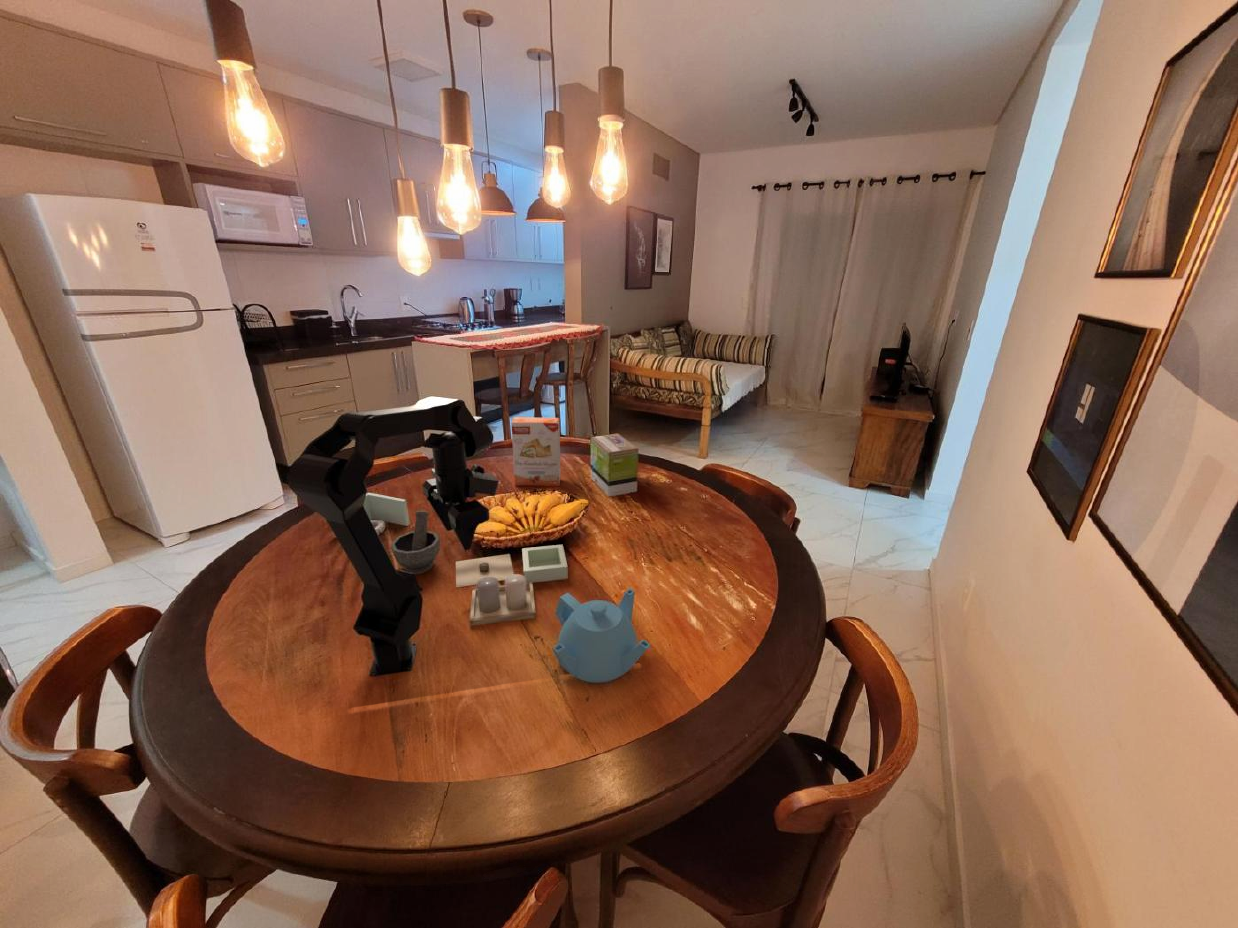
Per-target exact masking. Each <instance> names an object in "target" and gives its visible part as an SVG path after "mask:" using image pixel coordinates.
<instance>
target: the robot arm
mask: <svg viewBox="0 0 1238 928" xmlns="http://www.w3.org/2000/svg"><path fill="white" fill-rule="evenodd" d="M425 431H437V432H438V431H439V432H442V433H435V432H430V433H429V436H428V437H427V438H426V439H425V440H424V442H423V443H422V447H423V448H424V449H425V448H426V449H431V452H432V459H433V460H432V461H433V468H432V469H431V468H430V472H431V476H433V477H434V478H431V479H426V480H425V482H424V483H422V494H423V495H424V496H425V500H427V502H428V504H429V505H430V506H431V508H432V509H433V511H434V513H435V515H436V516H437V517H438V518H439V521H440V522H441V524H442V525H443V527H444V528H445V530H446V531H447V532H450V531H453V532H454V534H455V537H457V539H458V541H459V543H460V545H461V546H462V548H463V550H464V551H469V550H471V548H472V544H473V541H474V538H475V533H476V530H477V528H478V526H479V525H480V524H483V523H485V522H488V521H489V520H490V509H489V508H488V507H486V505H484V504H483V503H482V502H480V501H479V500H477V499H474V500H471V501H469V500H468V498H469V499H472V498H475V497H477V494H483V495H489V496H492V497H493V496H494V497H495V496H496V493H497V489H498V485H499V481H500V479H498V478H497V477H495V476H494V475H492V473H489V472H487V471H486V472H485V468H484V467H483V466H481V465H479V464H473V465H472V466H470V467H471V468H468V463H467V458H470V457H474V456H475V455H477V454H479V453H481V452H482V451H484V450H486V449H489V448H490V447H491V446H492V445H493V442H494V437H495V436H494V434H493V432H492V430H491V428H490V427H489V426H488V425H487V424H486V423H485V422H484V417H481V416H476V415H473V414H472V413H471V412H470V410H469V408H468V407H467V405H466V402H465V400H463V399H456V398H448V397H439V396H432V395H431V396H428V397H426V398H423V399H419V400H418V401H417V402H416V403H415V404H413V405H411V406H410V405H409V406H401V407H393V408H387V409H386V408H385V409H377V410H367V411H360V412H357V411H348V412H345V413H342V414H341V415H340V416H339V417H337V420H336V421H335V422H334V423H333V425H332V426H331V427H330V428H329V429H327V430H325V431H324V432H323V433H321V434H320V435H319V436H318V437H316V438H314V439H313V440H311V441H310V442H309V444H308V445H307V446H305V447H306V448H305V449H304V450H303V451H302V453H301V454H300V455H299V457H297V458H296V459H295V460H294V461H293V462H292V465H291V467H290V468H289V472H288V474H287V475H286V482H287V484H288V487H289V489H290V490H291V491H292V492H293V493H294V495H295V496H296V497H297V498H299V500H300V501H301V502H302V503H303V505H306V507H308V508H310V509H311V510H313V511H314V512H315V513H317V514H319V515H320V516H321V517H322V518H323V519H324V520H325V521H326V522H327V524H328V525H329V528H330V529H331V531H332V532H333V534H334V537H335V536H336V537H337V538H336V540H337V541H338V543H339V544H340V546H341V548H342V549H343V551H344V553H345V554H346V556H347V557H348V561H350V563H351V565H352V567H353V568H354V570H355V572H356V573H357V575H358V576H359V579H360V580H361V581H362V584H363V587H362V591H361V594H360V598H361V601H362V603H363V605H362V606H361V608H360V611H359V613H358V615H357V618H356V620H355V623H354V625H353V630H354V632H355V633H356V634H357V635H358V636H364V637H367V638H369V639H370V644H371V648H372V649H371V650H372V654H373V662H372V665H371V668H370V671H369V674H368V675H369V676H370V677H378V676H385V675H390V674H398V673H405V672H411V671H412V669H413V667H414V661H415V658H416V653H417V648H418V643H417V642H411V639H410V638H411V637H412V636H414V634H415V633H417V632H418V631H419V630H420V627H421V619H422V612H423V611H422V610H423V595H422V593H421V592H422V591H423V590H424V588H423V587H421V586H420V584H419V582H418V578H417V576H416V574H413V573H409V572H406V571H405V570H400V569H397V568H395V565H394V564H393V562H392V560H391V557H390V556H389V554H388V552H387V550H386V548H385V546H384V544H383V542H382V540H381V538H380V536H379V535H378V534H377V532H376V530H375V528H376V527H374V526H373V524H372V522H371V520H372V519H371V520H370V518H369V516H368V514H367V512H366V510H365V508H364V501H365V497H366V494H367V493H368V490H367V486H366V481H365V480H366V478H367V476H368V475H369V473H370V472H371V470H372V469H373V468H374V467H373V466H374V465H375V463H374V462H375V451H376V449H375V448H376V446H377V444H378V442H379V441H380V440H384V439H387V438H393V437H398V436H404V435H408V434H409V435H410V434H413V433H419V432H425ZM352 441H354V449H353V452H352V454H351V455H350V456H349V458H348V459H346V458H339V457H335V455H336V454H337V453H339V452H341V450H343V449H344V448H345V447H347V446H348V445H350V443H352Z"/></svg>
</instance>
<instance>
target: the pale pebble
mask: <svg viewBox="0 0 1238 928" xmlns="http://www.w3.org/2000/svg"><path fill="white" fill-rule="evenodd" d="M504 585H505V592H506V605H507V607H508V608H509V609H512V610H518V609H521V608H523V607H525V606H526V604H527V594H526V578H525V577H524V574H518V573H514V574H513V575H510V576H508V577H507V578H506V579H505V580H504Z"/></svg>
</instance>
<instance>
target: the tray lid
mask: <svg viewBox="0 0 1238 928" xmlns="http://www.w3.org/2000/svg"><path fill="white" fill-rule="evenodd" d="M512 563H513V562H512V558H511V554H510V553H507V554H506V553H505V554H499V555H492V556H486V557H479V558H472V559H465V560H459V561H455V589H459V588H465V587H471V586H477V582H478V581H479V580H481V579H483V578H486V577H494V578H496V579H497V580H498V582H503V581H504V582H505V579H506V578H507V577H508V576H510V575H513V574H515V573H514V569H513V564H512Z"/></svg>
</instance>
